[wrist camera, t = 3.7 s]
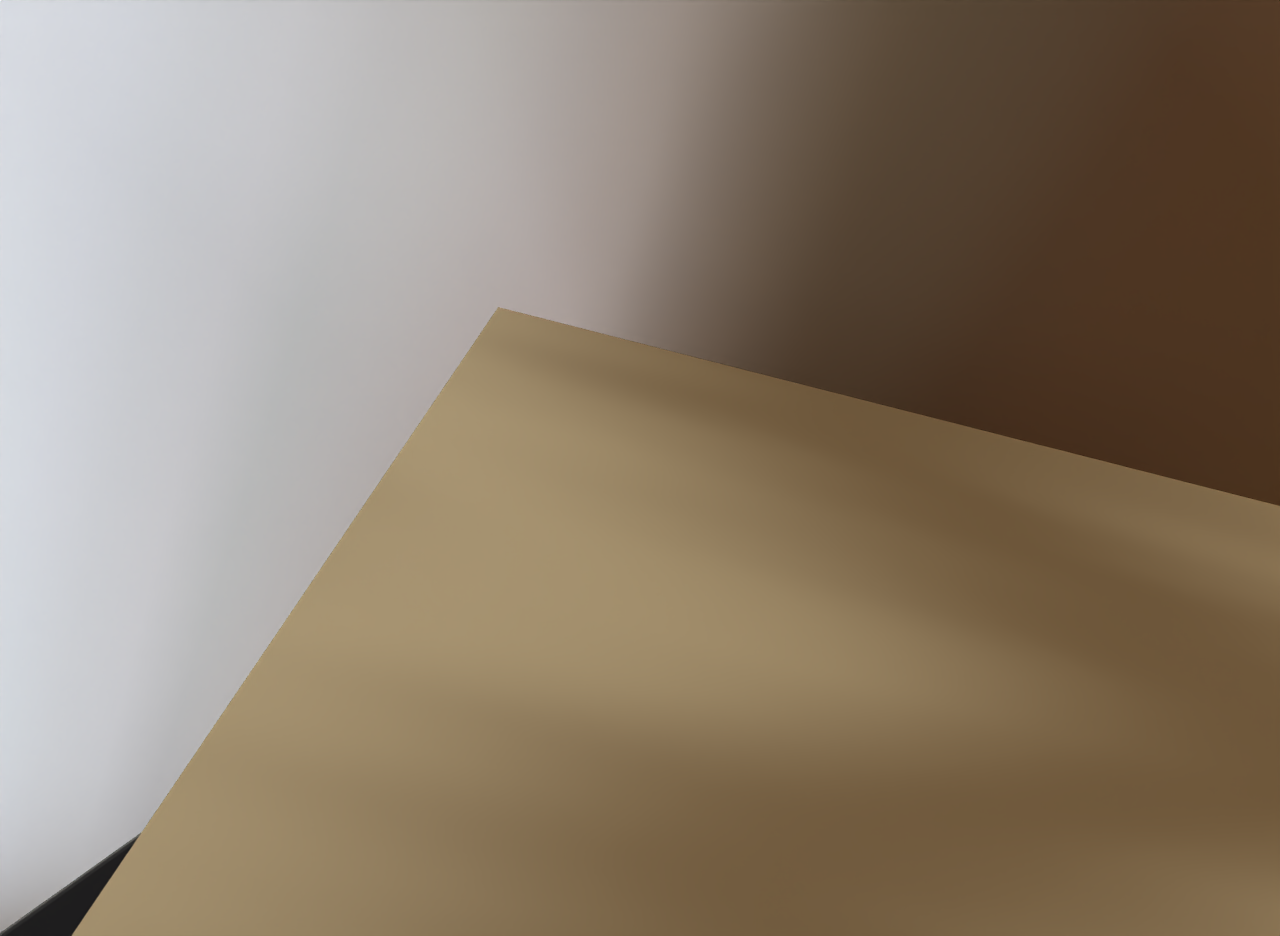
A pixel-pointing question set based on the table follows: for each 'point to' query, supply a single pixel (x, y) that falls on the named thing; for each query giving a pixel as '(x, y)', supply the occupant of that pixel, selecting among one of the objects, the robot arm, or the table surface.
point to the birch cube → (740, 682)
